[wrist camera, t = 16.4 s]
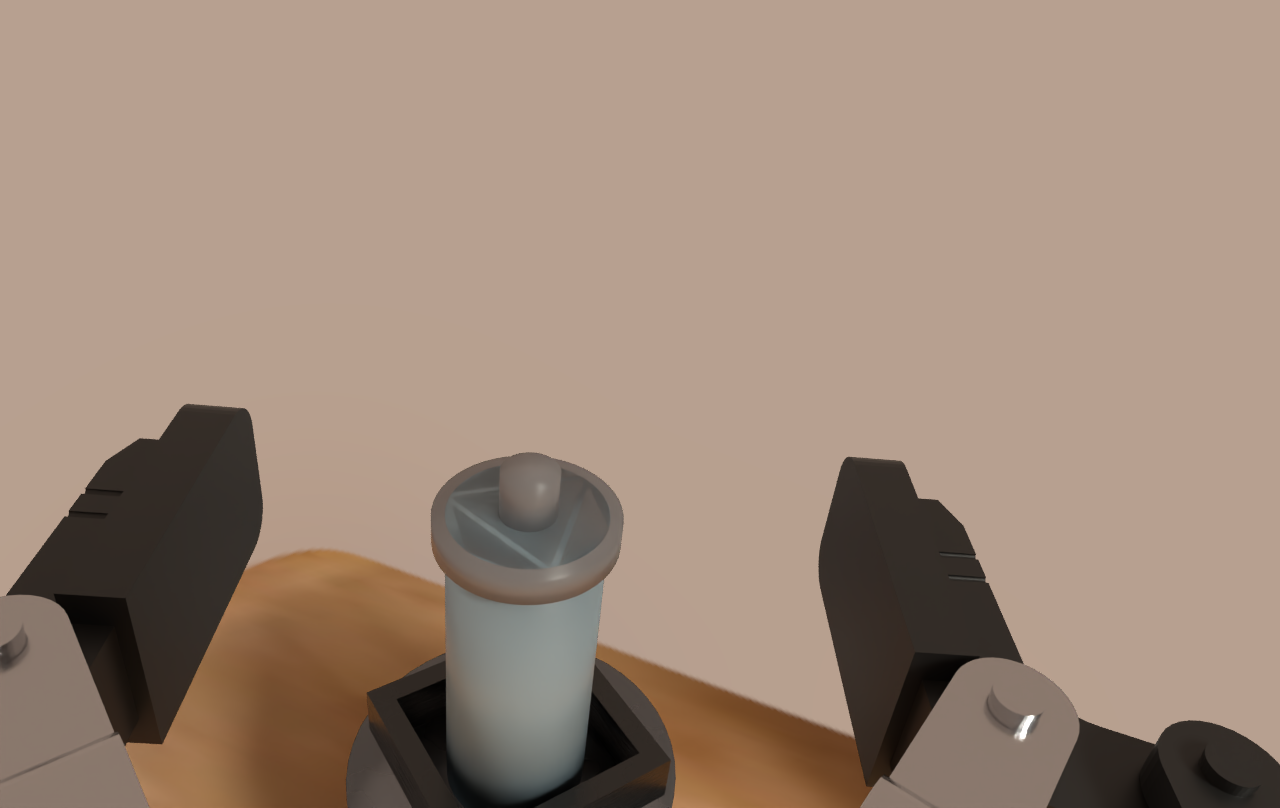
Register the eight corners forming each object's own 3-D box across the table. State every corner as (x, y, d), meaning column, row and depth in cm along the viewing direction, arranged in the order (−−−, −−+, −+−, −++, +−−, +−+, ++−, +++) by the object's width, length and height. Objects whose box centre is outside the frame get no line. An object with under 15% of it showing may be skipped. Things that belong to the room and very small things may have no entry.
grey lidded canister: (544, 679, 40) (564, 398, 33) (624, 788, 36) (667, 497, 29) (409, 740, 37) (397, 444, 30) (480, 865, 33) (487, 561, 26)
